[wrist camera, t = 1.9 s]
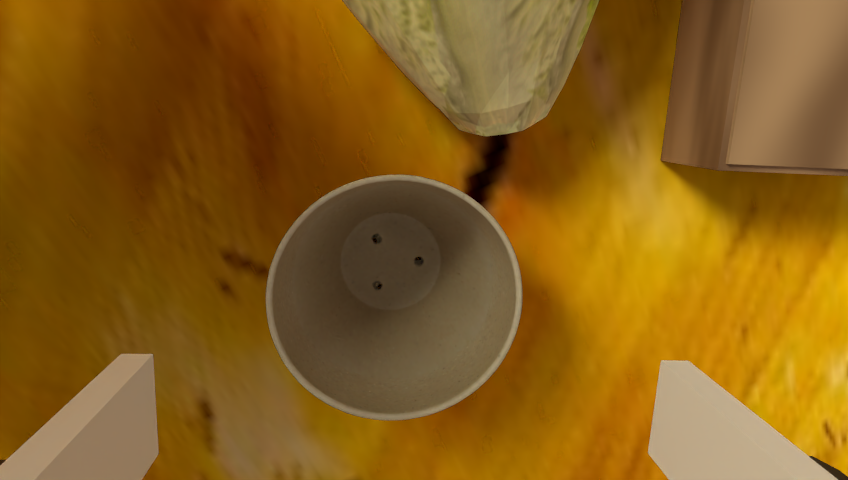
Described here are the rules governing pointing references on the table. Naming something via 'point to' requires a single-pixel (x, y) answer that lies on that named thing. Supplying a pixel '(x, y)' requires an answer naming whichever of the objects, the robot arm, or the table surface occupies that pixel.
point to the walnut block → (760, 87)
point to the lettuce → (482, 54)
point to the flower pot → (394, 297)
